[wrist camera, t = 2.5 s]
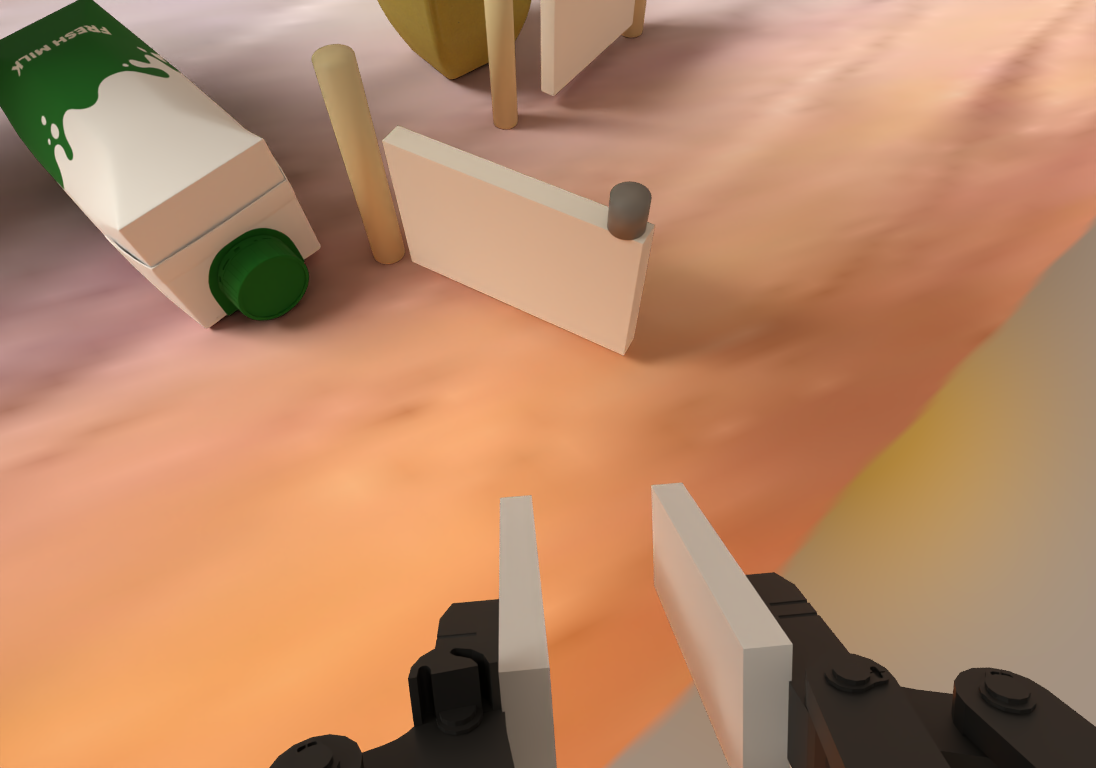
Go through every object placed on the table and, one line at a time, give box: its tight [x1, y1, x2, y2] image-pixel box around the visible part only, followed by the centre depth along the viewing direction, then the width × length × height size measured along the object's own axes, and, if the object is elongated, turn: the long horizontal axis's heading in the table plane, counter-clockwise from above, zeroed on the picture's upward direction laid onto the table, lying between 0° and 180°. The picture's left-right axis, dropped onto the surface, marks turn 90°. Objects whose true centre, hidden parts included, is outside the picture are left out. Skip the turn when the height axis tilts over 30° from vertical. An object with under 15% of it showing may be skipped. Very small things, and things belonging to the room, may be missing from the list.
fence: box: [312, 0, 646, 264], centre depth 40 cm, size 28×3×12 cm, turn 145°
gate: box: [382, 126, 655, 356], centre depth 32 cm, size 13×2×10 cm, turn 61°
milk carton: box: [0, 0, 321, 329], centre depth 37 cm, size 9×9×20 cm
